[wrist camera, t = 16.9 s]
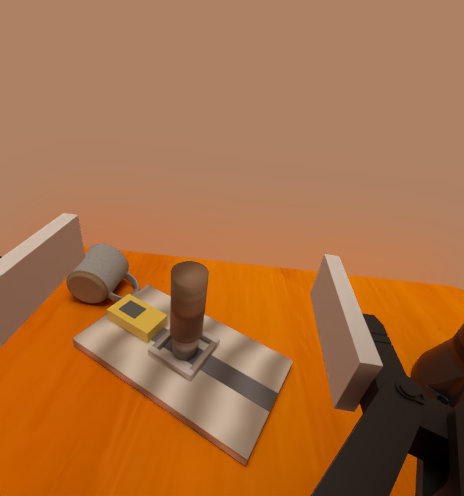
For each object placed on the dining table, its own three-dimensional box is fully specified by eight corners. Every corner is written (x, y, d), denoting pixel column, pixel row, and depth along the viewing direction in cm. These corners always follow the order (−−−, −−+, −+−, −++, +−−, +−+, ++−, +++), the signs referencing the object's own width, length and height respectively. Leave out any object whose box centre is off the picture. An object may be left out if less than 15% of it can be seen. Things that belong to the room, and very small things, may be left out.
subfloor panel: (290, 367, 44) (294, 355, 42) (245, 466, 32) (249, 454, 31) (147, 291, 54) (147, 279, 52) (74, 345, 42) (71, 332, 41)
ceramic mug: (66, 302, 49) (58, 265, 45) (91, 273, 56) (86, 239, 52) (128, 313, 49) (126, 277, 45) (145, 283, 56) (145, 249, 52)
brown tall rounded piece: (206, 346, 43) (215, 270, 36) (188, 368, 40) (194, 289, 32) (182, 332, 44) (186, 257, 37) (162, 352, 41) (163, 273, 34)
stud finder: (167, 324, 46) (167, 314, 44) (147, 343, 42) (147, 332, 41) (129, 302, 48) (128, 293, 47) (107, 318, 45) (106, 308, 44)
